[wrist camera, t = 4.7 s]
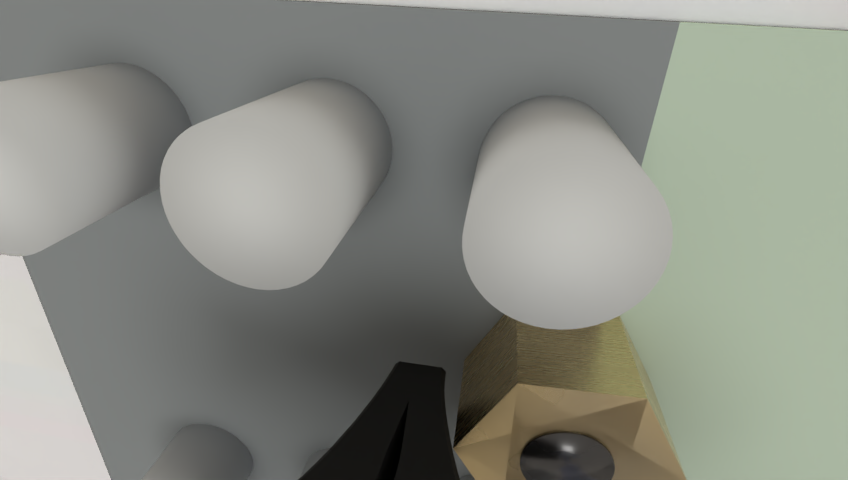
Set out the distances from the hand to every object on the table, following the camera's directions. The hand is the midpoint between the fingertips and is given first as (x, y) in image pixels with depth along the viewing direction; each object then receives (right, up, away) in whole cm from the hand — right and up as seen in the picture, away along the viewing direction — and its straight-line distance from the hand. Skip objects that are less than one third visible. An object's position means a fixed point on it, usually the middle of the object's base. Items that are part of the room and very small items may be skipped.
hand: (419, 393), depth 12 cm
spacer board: (+1, +1, +1) cm, 2 cm away
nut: (+4, 0, +1) cm, 4 cm away
